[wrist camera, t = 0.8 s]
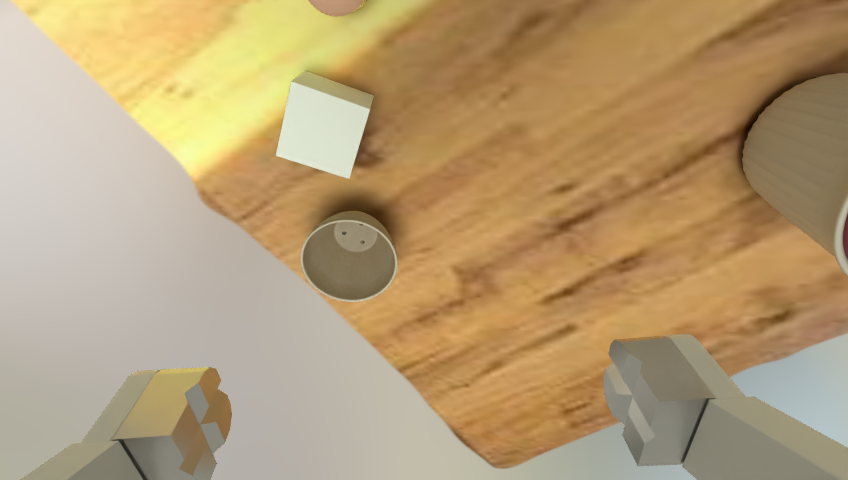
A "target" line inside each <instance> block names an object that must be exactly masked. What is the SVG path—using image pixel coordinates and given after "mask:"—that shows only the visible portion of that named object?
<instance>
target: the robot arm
mask: <svg viewBox="0 0 848 480" xmlns="http://www.w3.org/2000/svg"><path fill="white" fill-rule="evenodd" d="M609 356H610V357H611V359H612V361H613V363H612V364H610V365H609V366H608V367H607V368H606V369H605V373H604V379H603V385H604V395H605V398H606V401H607V404H608V407H609V409H610V411H611V413H612V415H613V416H614V417H615V418H617V419H618V420H619V421H621V422H622V423H623V424H625V427H624V431H623V437H624V439H625V441H626V443H627V445H628V447H629V449H630V451H631V453H632V455H633V457H634V459H635V461H636V463H637V465H638V466H653V465H677V464H683V468H685V469H686V470H687V471H688V472H689V473H690V474H691V475H693V476H694V477H695V478H696V479H697V480H848V448H847V447H845V446H843V445H842V444H840V443H838V442H836V441H834V440H833V439H831V438H828V437H827V436H825V435H823V434H821V433H820V432H818V431H816V430H814V429H812V428H810V427H809V426H807V425H805V424H803V423H801V422H799V421H798V420H796V419H794V418H792V417H790V416H789V415H787V414H785V413H783V412H781V411H779V410H778V409H776V408H774V407H772V406H770V405H768V404H767V403H765V402H763V401H761V400H759V399H757V398H756V397H746V396H745V395H744V394H743V393H742V392H741V391H740V389H739V388H738V387H737V386H736V385H735V383H734V382H733V381H732V380H731V379H730V378H729V376H728V375H727V374H726V373H725V372H724V371H723V369H722V368H721V367H720V366H719V365H718V363H717V362H716V361H715V360H714V359H713V358H712V356H711V355H710V354H709V353H708V352H707V351H706V349H705V348H704V347H703V346H702V345H701V344H700V342H699V341H698V340H697V339H696V338H695V337H694V336H692V335H690V334H679V335H667V336H655V337H642V338H629V339H616V340H614V341H613V342H612V343H611V345H610V350H609ZM220 382H221V379H220V377H219V374H218V372H217V370H216V369H215V368H210V367H207V368H183V369H162V370H148V371H137V372H135V373H133V374H131V375H130V376H129V377H128V378H127V379H126V381H125V382H124V384H123V385H122V386H121V388H120V389H119V390H118V392H117V393H116V395H115V396H114V397H113V399H112V400H111V402H110V403H109V404H108V406H107V407H106V409H105V410H104V412H103V413H102V414H101V416H100V417H99V418H98V420H97V421H96V423H95V424H94V425H93V427H92V428H91V430H90V431H89V432H88V434H87V435H86V436H85V438H84V439H83V441H82V442H81V443H75V444H71V445H70V446H69V447H67V448H66V449H64V450H63V451H61V452H60V453H58V454H57V455H55V456H54V457H53V458H51V459H50V460H48V461H47V462H45V463H44V464H42V465H41V466H40V467H38V468H37V469H35V470H34V471H32V472H31V473H29V474H28V475H27V476H25V477H24V478H22V479H21V480H210V479H211V477H212V474H213V472H214V469H215V466H216V464H217V463H216V460H215V457H214V455H213V453H214V452H215V451H216V450H217V449H218V448H220V447H221V446H222V445H223V444H224V443H225V441H226V438H227V436H228V433H229V430H230V425H231V417H232V412H231V405H230V401H229V399H228V396H227V395H226V394H225V393H223V392H222V391H220V390H218V389H217V388H218V386H219V384H220Z"/></svg>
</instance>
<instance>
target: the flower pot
mask: <svg viewBox="0 0 848 480" xmlns="http://www.w3.org/2000/svg"><path fill="white" fill-rule="evenodd" d="M344 233H346V234H344ZM363 241H364V242H363ZM301 266H302V270H303V272H304V274H305V276H306V278H307V280H308V281H309V282H310V284H311V285H312V286H313V287H314V288H316V289H317V290H318V291H319V292H321V293H322V294H324V295H326V296H328V297H330V298H333V299H336V300H340V301H346V302H359V301H365V300H368V299H371V298H374V297H376V296H377V295H379V294H381V293H382V292H384V291H385V290H386V289H387V288H388V287H389V286H390V284H391V283H392V281H393V279H394V277H395V275H396V271H397V254H396V250H395V246H394V244H393V241H392V239H391V237H390V235H389V233H388V232H387V230H386V229H385V228H384V226H383V225H382V224H381V223H380V222H379V221H378V220H377V219H375V218H374V217H372V216H370V215H369V214H366V213H364V212H359V211H345V212H341V213H338V214H335V215H333V216H331V217H329V218H327V219H326V220H324V221H323V222H321V223H320V224H319V225H318V226H317V227H316V228H315V229H314V230H313V231H312V232H311V234H310V235H309V236H308V237H307V239H306V241H305V242H304V245H303V247H302V250H301Z"/></svg>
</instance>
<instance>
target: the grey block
mask: <svg viewBox="0 0 848 480" xmlns="http://www.w3.org/2000/svg"><path fill="white" fill-rule="evenodd" d="M373 98H374V95H371V94H368V93H365V92H363V91H360V90H357V89H354V88H352V87H349V86H346V85H343V84H341V83H338V82H335V81H332V80H330V79H327V78H324V77H321V76H318V75H316V74H313V73H310V72H307V71H304V72H303V73H301V74H300V75H299V76H298V77H296V78H295V79H294V80H293V81H291V86H290V91H289V96H288V100H287V105H286V110H285V115H284V119H283V124H282V129H281V134H280V139H279V143H278V148H277V153H276V156H279V157H282V158H285V159H288V160H291V161H294V162H297V163H301V164H304V165H307V166H310V167H313V168H316V169H319V170H323V171H326V172H329V173H332V174H335V175H338V176H341V177H345V178H348V179H349V178H350V174H351V171H352V168H353V164H354V161H355V158H356V154H357V151H358V148H359V144H360V141H361V138H362V134H363V131H364V128H365V124H366V121H367V118H368V115H369V111H370V108H371V104H372V101H373Z"/></svg>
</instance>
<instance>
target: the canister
mask: <svg viewBox="0 0 848 480" xmlns="http://www.w3.org/2000/svg"><path fill="white" fill-rule="evenodd" d="M744 143H745V146H744V149H743V158H742V162H743V170H744V172H745V176H746V179H747V180H748V182H749V183H750V185H751V186H752V188H753V189H754V190H755V191H756V192H757V193H758V194H759V195H760V196H761V197H762V198H763V199H764V200H765V201H767V202H768V203H769V204H770V205H771V206H772V207H774V208H775V209H776V210H777V211H778V212H779V213H781V214H782V215H783V216H784V217H785V218H787V219H788V220H789V221H790V222H792V223H793V224H794V225H795V226H797V227H798V228H799V229H800V230H802V231H803V232H804V233H806V234H807V235H808V236H809V237H811V238H812V239H813V240H814V241H816V242H817V243H818V244H819V245H821V246H822V247H823V248H824V249H826V250H827V251H828V252H830V253H831V254H832V255H833V256H835V258H836V260H837V262H838V264H839V266H840V268H841V269H842V271H843V272H844V273H845V274H846V275H847V276H848V73H836V74H831V75H824V76H820V77H817V78H814V79H810V80H807V81H805V82H803V83H802V84H799V85H796V86H794V87H793V88H792V89H790V90H788V91H786V92H784V93H783V94H782V95H781V96H780V97H778V98H776V99H775V100H774V101H773V102H772V103H771V104H770V105H769V106H767V107H766V108H765V110H764V111H763V113H762V114H761V115H759V116H758V119H757V121H756V122H755V123H754V124H753V126H752V128H751V130H750V132H749V133H748V137H747V139H746V141H745V142H744Z"/></svg>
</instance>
